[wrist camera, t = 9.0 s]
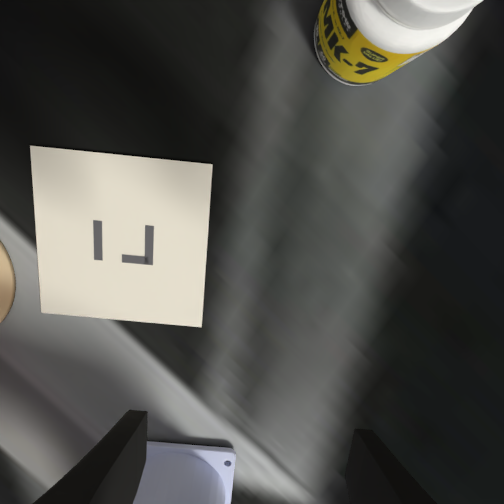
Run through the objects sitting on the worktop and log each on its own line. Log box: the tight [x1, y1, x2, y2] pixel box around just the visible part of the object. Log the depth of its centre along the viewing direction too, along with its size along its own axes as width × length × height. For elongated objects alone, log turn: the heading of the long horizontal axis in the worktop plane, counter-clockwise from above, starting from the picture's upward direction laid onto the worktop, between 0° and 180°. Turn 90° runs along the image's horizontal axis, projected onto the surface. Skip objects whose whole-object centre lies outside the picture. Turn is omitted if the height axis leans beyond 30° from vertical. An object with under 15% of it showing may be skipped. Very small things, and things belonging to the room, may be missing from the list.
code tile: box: [30, 146, 213, 327], centre depth 20 cm, size 10×10×1 cm
